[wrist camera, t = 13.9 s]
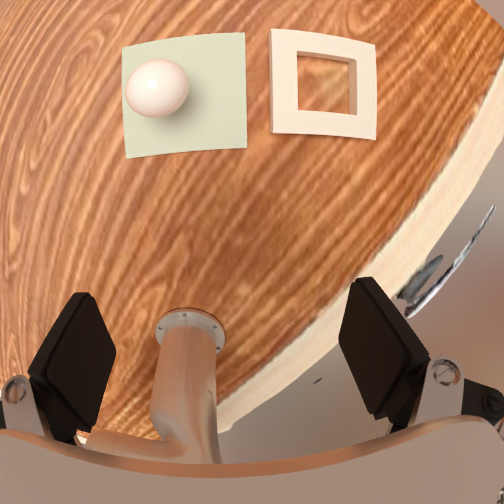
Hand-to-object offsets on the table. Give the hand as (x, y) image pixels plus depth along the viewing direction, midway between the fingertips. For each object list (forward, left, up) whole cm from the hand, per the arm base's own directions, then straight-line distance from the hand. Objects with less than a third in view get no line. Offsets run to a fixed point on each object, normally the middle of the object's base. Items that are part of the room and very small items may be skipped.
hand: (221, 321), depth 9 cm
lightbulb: (+11, +6, -28) cm, 31 cm away
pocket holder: (+12, -13, -28) cm, 33 cm away
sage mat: (+11, +5, -28) cm, 31 cm away
